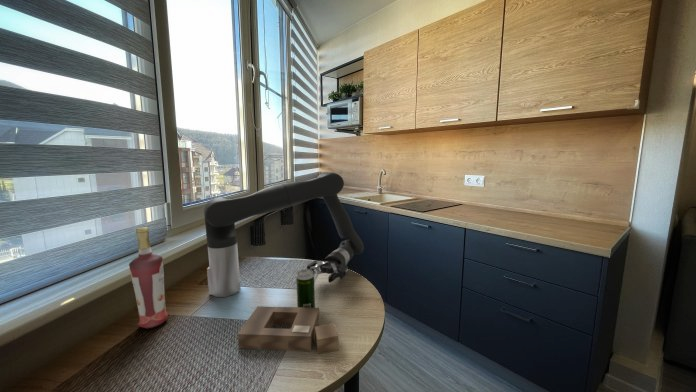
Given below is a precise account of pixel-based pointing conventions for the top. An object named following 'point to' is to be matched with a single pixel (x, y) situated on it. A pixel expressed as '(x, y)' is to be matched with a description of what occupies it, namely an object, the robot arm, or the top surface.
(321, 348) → the walnut block
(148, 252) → the liquor
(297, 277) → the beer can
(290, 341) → the socket block
